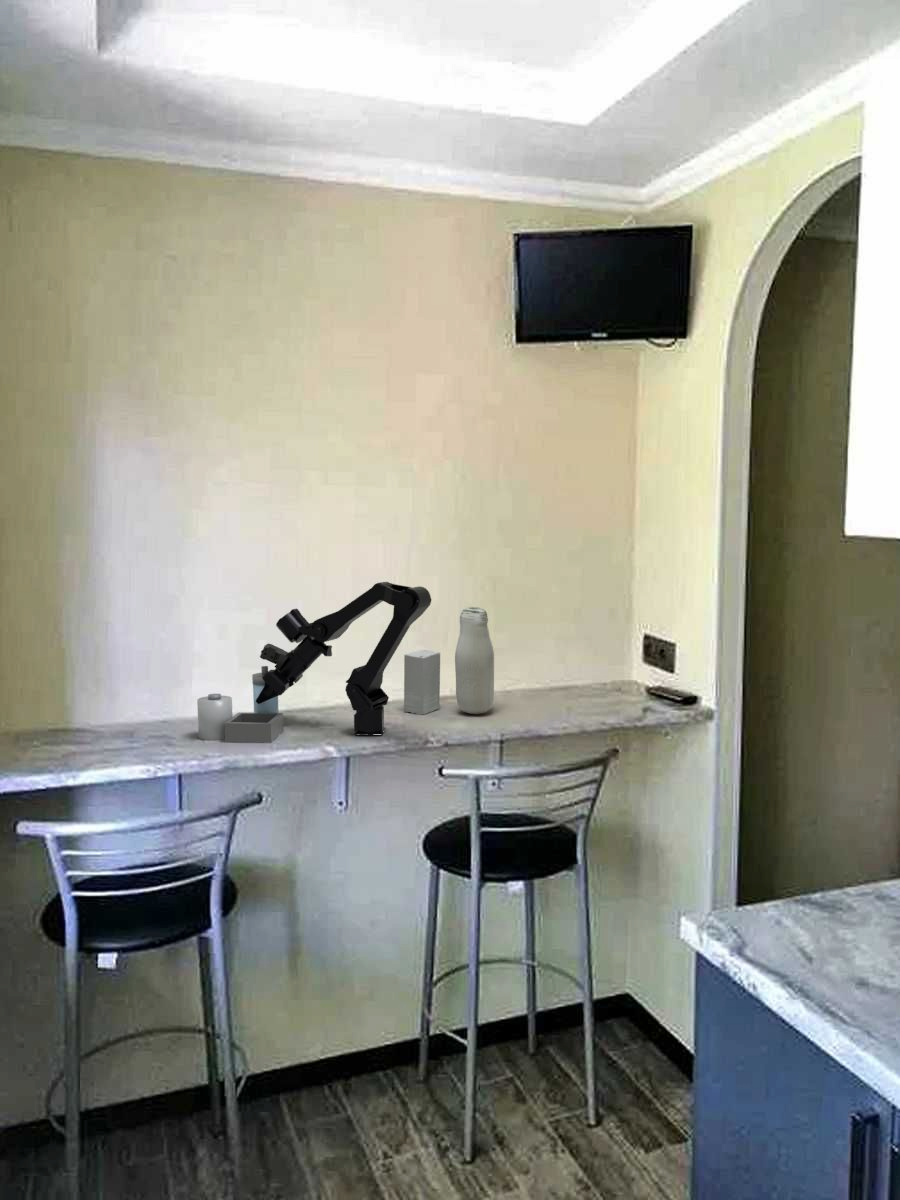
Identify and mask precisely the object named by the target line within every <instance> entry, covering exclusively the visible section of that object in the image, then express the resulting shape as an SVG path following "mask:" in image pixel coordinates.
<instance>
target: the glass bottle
mask: <svg viewBox="0 0 900 1200" xmlns="http://www.w3.org/2000/svg"><path fill="white" fill-rule="evenodd" d="M459 615H460V616H459V627H460V628H459V634H458V639H457V643H456V647H455V653H454V667H455V669H454V670H455V695H456V702H457V706H458V708H459V709H460V710H461V711H462V712H464V713H467V714H469V715H481V714H485V713H487V712H488V711H490V709H491V707H493V704H494V696H495V652H494V651H495V649H494V646H493V643H492V640H491V637H490V632H489V626H488V622H489V618H488V612H487V610H485V609H484V608H480V607H475V606H473V607H472V606H470V607H469V606H467V607H465V608H463V610H461V613H460V614H459Z"/></svg>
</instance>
